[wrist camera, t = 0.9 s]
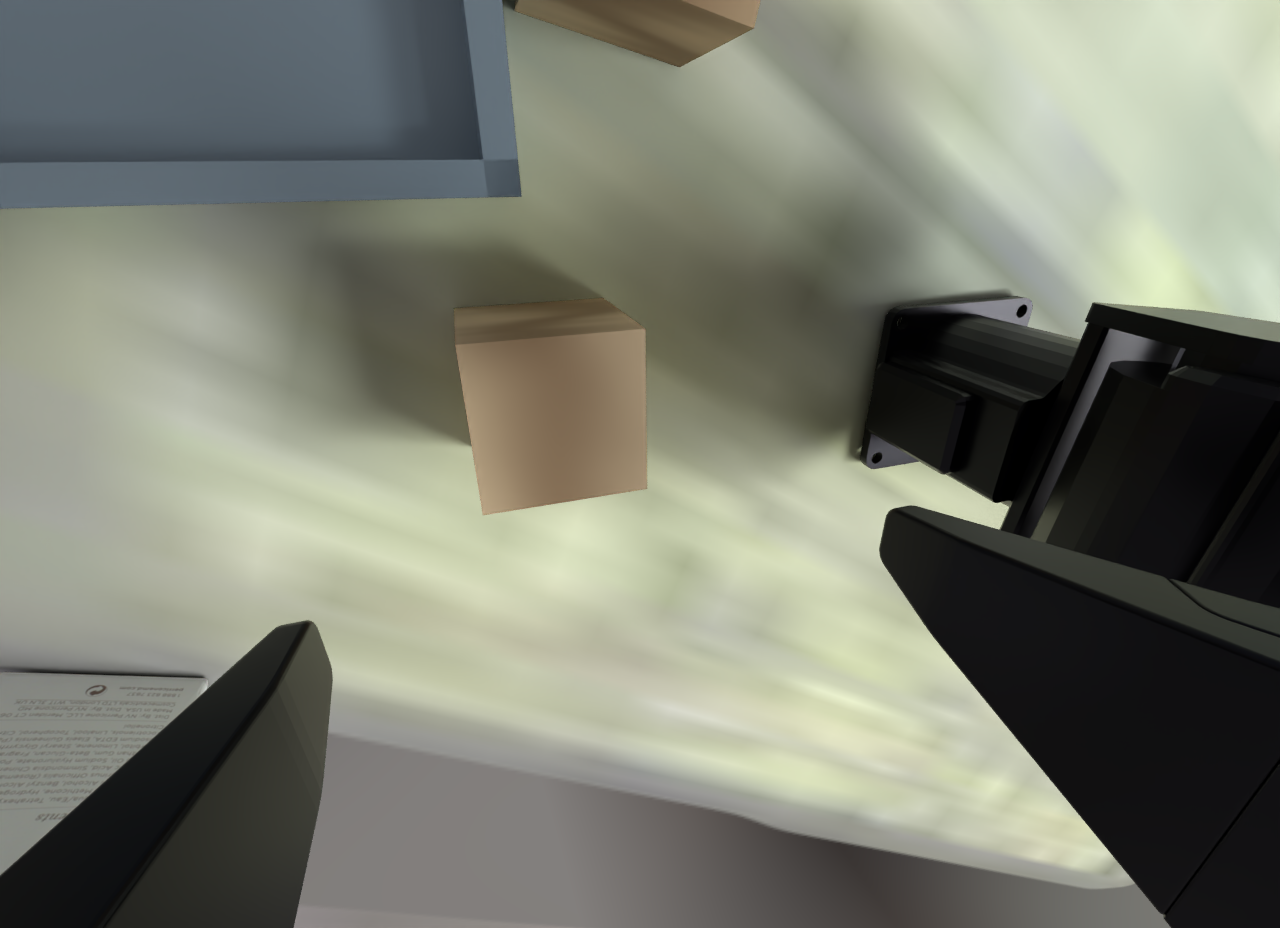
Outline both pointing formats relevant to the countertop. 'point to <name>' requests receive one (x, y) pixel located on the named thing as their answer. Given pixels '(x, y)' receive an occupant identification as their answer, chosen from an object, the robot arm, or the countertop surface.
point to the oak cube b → (651, 23)
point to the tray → (253, 101)
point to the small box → (72, 742)
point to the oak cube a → (553, 401)
